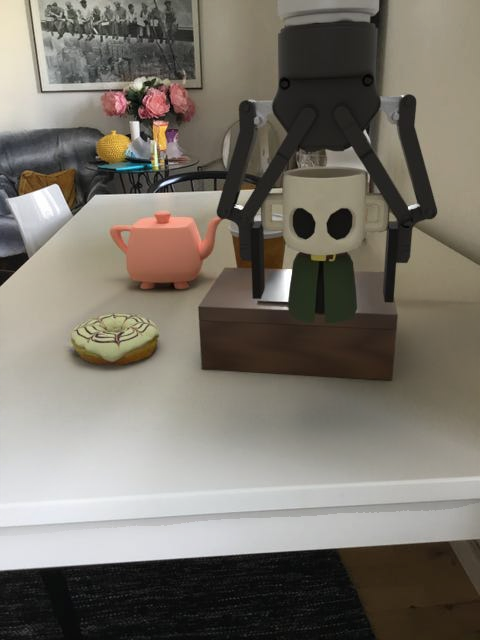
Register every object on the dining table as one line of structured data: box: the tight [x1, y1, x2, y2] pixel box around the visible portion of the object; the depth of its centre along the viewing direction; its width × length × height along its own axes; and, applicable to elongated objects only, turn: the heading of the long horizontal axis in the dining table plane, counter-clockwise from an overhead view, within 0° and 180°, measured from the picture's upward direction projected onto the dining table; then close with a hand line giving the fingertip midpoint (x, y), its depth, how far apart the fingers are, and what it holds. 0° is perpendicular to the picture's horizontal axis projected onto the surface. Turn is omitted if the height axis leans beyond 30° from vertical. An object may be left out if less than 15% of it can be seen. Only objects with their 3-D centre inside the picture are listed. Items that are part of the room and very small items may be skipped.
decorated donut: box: [70, 312, 161, 366], centre depth 72 cm, size 10×11×4 cm
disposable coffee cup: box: [228, 212, 286, 269], centre depth 89 cm, size 10×10×12 cm
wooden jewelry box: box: [197, 266, 399, 381], centre depth 71 cm, size 22×15×8 cm
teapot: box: [109, 210, 224, 290], centre depth 96 cm, size 20×12×12 cm, turn 86°
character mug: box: [260, 165, 391, 324], centre depth 50 cm, size 11×7×13 cm, turn 79°
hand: (322, 295), depth 51 cm, fingers closed on character mug, 11 cm apart
